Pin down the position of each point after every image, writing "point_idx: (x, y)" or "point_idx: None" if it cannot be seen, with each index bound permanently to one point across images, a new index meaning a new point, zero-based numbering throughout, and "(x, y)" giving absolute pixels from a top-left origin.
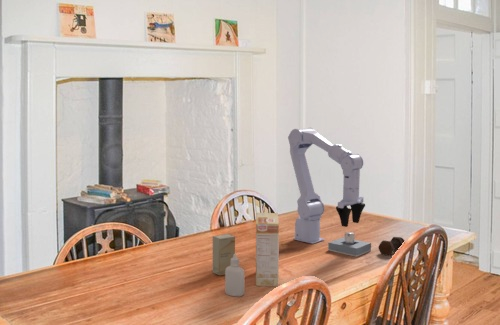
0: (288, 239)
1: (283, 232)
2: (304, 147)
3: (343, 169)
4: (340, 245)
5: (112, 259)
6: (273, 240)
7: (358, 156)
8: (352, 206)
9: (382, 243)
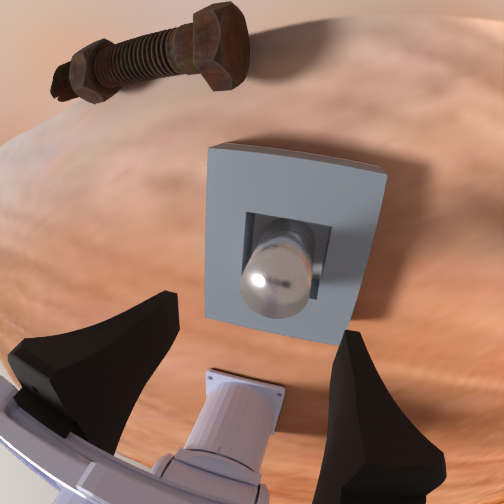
0: (276, 439)
1: None
2: None
3: None
4: (361, 283)
5: (499, 498)
6: None
7: None
8: (113, 431)
9: (227, 57)
